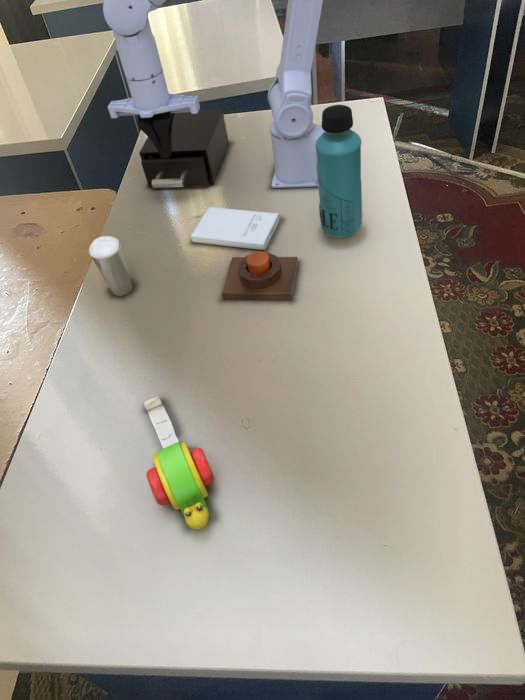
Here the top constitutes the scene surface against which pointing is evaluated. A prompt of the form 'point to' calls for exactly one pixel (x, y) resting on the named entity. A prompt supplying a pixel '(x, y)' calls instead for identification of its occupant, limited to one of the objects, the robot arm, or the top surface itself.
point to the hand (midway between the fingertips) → (166, 154)
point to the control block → (261, 280)
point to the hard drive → (236, 228)
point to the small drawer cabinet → (196, 139)
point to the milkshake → (111, 264)
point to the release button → (258, 262)
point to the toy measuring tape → (178, 470)
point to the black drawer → (176, 171)
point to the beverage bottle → (339, 173)
